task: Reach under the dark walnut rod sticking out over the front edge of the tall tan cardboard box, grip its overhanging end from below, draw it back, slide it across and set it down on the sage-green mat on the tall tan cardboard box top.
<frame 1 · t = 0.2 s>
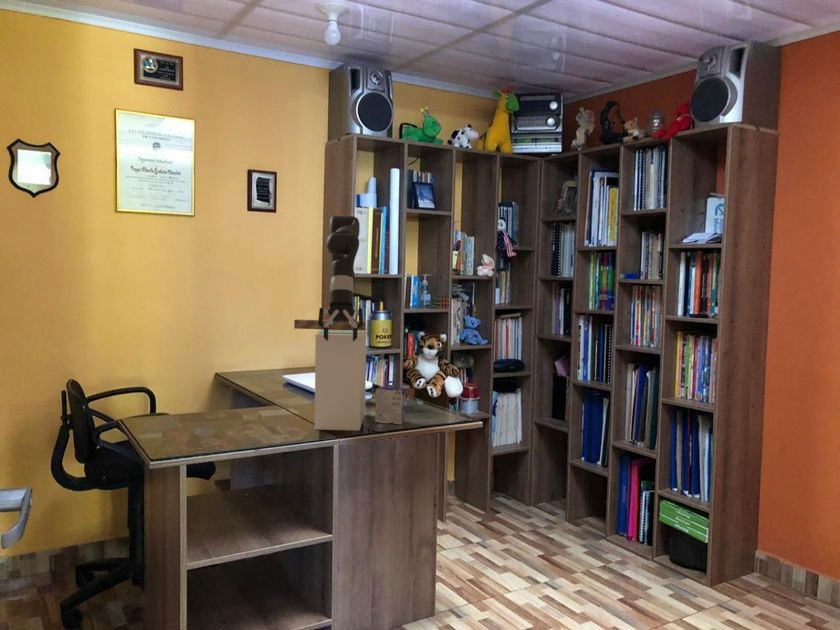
hand: (340, 340, 221), 31 cm above the table, tool tilted 20°, fingers open, 8 cm apart
ink cartridge box: (390, 422, 246), on the table
walnut rod: (330, 329, 248), point 32 cm above the table, touching tall tan cardboard box
tall tan cardboard box: (341, 421, 245), on the table
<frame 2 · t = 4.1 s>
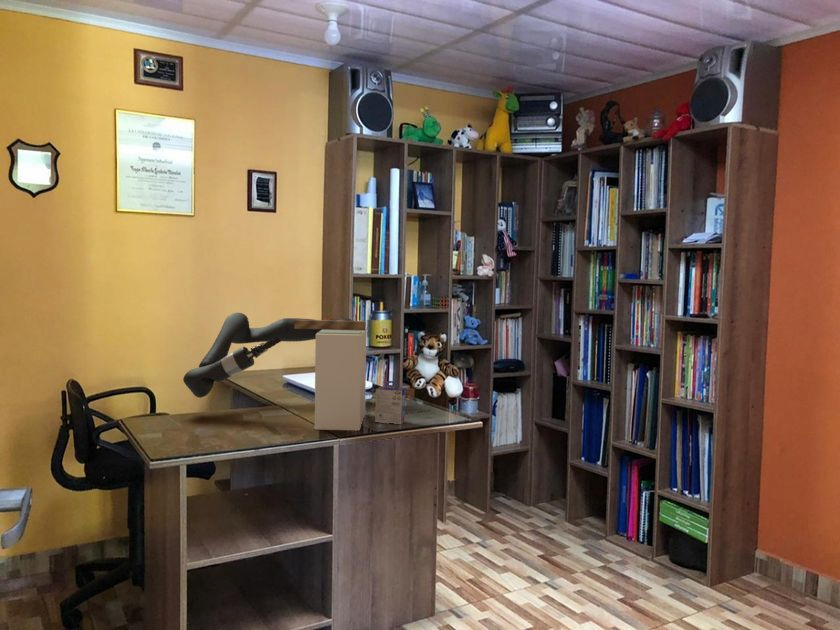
hand: (277, 340, 249), 28 cm above the table, tool pointing upward, fingers open, 8 cm apart
nothing on the table moved.
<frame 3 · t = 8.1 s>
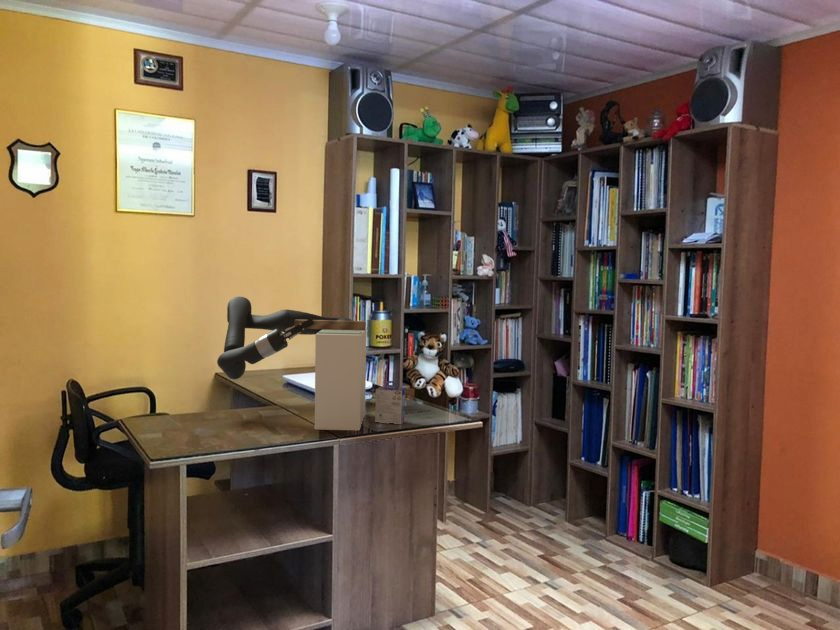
hand: (313, 320, 248), 35 cm above the table, tool pointing upward, fingers closed on walnut rod, 3 cm apart
walnut rod: (330, 329, 248), point 32 cm above the table, touching tall tan cardboard box, gripper
everything else where it was.
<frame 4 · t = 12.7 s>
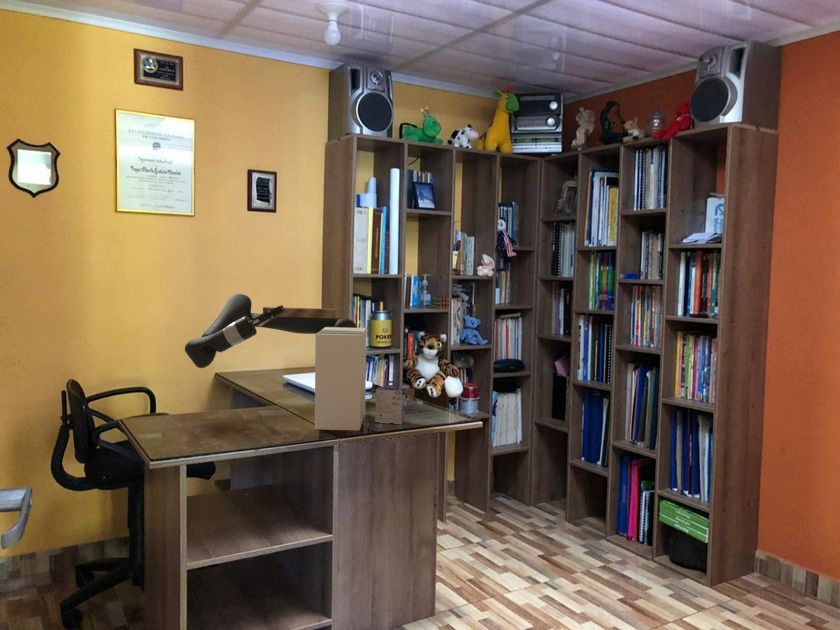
hand: (282, 308, 244), 39 cm above the table, tool pointing upward, fingers closed on walnut rod, 3 cm apart
walnut rod: (299, 316, 244), point 36 cm above the table, touching gripper
everything else where it was.
when the fingers open (37 cm above the table, at t = 17.3 s): walnut rod drops 2 cm, resting on tall tan cardboard box.
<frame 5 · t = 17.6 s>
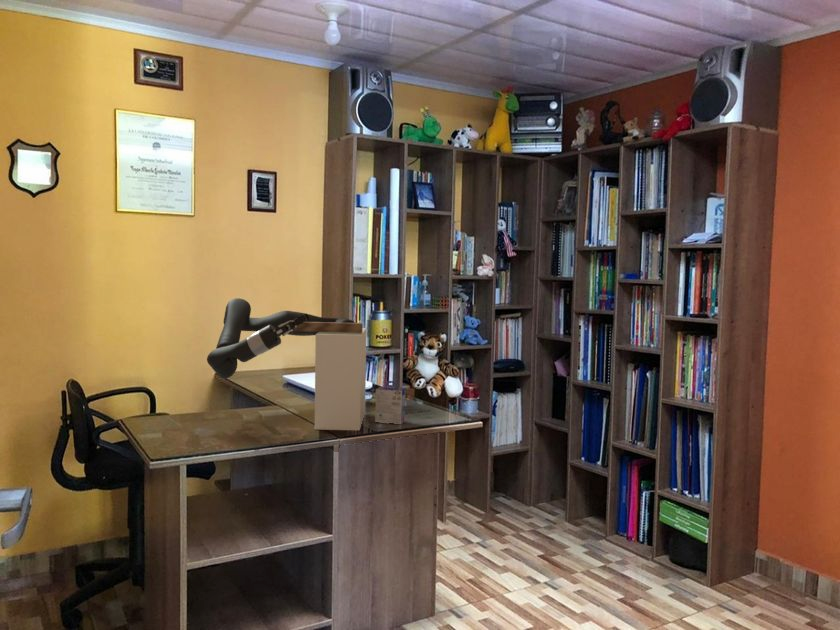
hand: (306, 316, 236), 37 cm above the table, tool pointing upward, fingers open, 6 cm apart
walnut rod: (325, 331, 236), point 32 cm above the table, touching tall tan cardboard box
everything else where it was.
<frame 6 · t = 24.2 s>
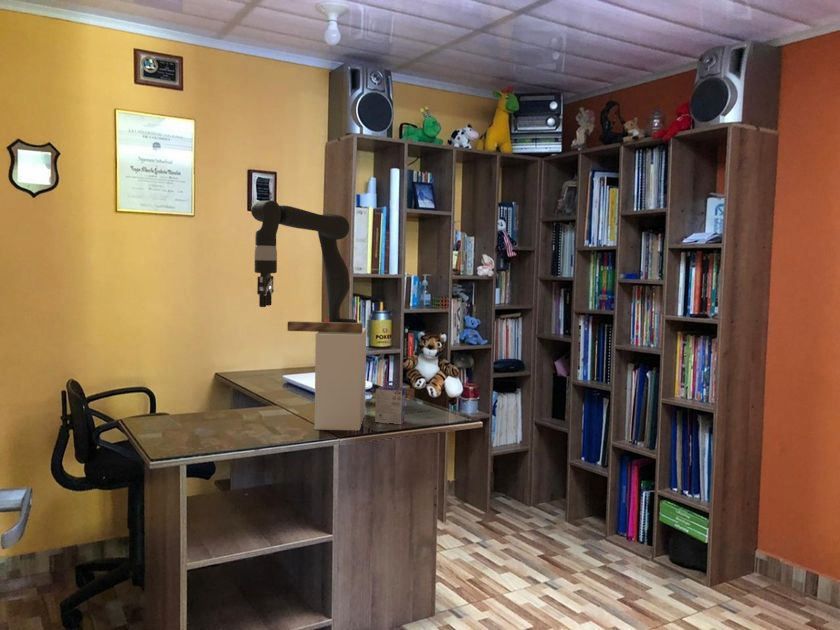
hand: (265, 306, 241), 40 cm above the table, tool pointing down, fingers open, 8 cm apart
nothing on the table moved.
at the end: walnut rod inside the target area (0.1 cm from its centre), point 32.4 cm above the table; the gripper is holding nothing; walnut rod tilted 0° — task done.
